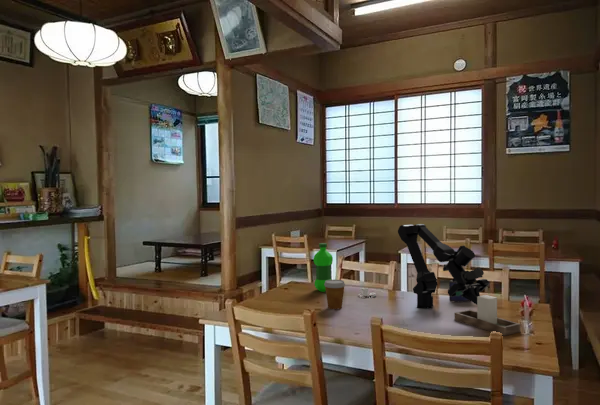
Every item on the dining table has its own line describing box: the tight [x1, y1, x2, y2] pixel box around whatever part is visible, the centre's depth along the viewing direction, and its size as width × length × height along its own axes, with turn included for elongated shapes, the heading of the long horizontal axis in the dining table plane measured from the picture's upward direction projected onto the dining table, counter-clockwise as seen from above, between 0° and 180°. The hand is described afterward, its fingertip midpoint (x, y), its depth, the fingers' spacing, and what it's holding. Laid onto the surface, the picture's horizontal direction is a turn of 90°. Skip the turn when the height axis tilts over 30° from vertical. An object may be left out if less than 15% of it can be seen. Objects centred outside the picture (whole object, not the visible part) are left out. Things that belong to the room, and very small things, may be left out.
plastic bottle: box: [313, 242, 334, 293], centre depth 235 cm, size 10×10×25 cm
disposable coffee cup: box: [324, 279, 346, 310], centre depth 201 cm, size 10×10×12 cm
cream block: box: [476, 294, 498, 324], centre depth 171 cm, size 5×5×10 cm
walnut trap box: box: [453, 309, 522, 337], centre depth 172 cm, size 23×9×3 cm, turn 28°
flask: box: [448, 279, 471, 302], centre depth 209 cm, size 10×3×12 cm, turn 88°
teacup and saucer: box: [359, 287, 377, 299], centre depth 222 cm, size 9×8×4 cm
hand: (481, 305), depth 174 cm, fingers closed, pressing on cream block
